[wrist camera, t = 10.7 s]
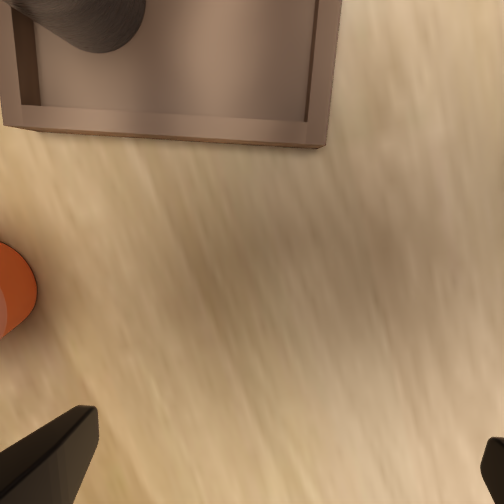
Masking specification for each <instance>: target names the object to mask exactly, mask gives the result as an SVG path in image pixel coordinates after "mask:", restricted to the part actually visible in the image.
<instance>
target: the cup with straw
mask: <svg viewBox="0 0 504 504" xmlns="http://www.w3.org/2000/svg"><path fill="white" fill-rule="evenodd" d="M36 296H37V287H36V282H35V278H34V275H33V273H32V271H31V269H30V267H29V266H28V264H27V263H26V261H25V260H24V259H23V258H22V257H21V256H20V255H19V254H18V253H17V252H16V251H15V250H13V249H12V248H10V247H9V246H7V245H5V244H3V243H1V242H0V340H1V338H2V337H4V336H5V335H6V334H7V333H9V332H10V331H11V330H12V329H14V328H15V327H16V326H17V325H18V324H20V323H21V322H22V321H23V320H24V319H25V318H26V317H27V316H28V315H29V314H30V312H31V311H32V309H33V307H34V305H35V302H36Z"/></svg>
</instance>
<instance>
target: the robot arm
mask: <svg viewBox="0 0 504 504" xmlns="http://www.w3.org/2000/svg"><path fill="white" fill-rule="evenodd" d="M98 441H99V424H98V411H97V408H96V407H95V406H87V405H78V406H75V407H74V408H72V409H70V410H69V411H67V412H65V413H64V414H62V415H61V416H59V417H57V418H56V419H54V420H52V421H51V422H49V423H47V424H46V425H44V426H43V427H41V428H39V429H38V430H36V431H34V432H33V433H31V434H29V435H28V436H26V437H25V438H23V439H21V440H20V441H18V442H16V443H15V444H13V445H11V446H10V447H8V448H7V449H5V450H3V451H2V452H0V504H73V502H74V500H75V497H76V495H77V493H78V490H79V488H80V485H81V483H82V481H83V478H84V476H85V474H86V471H87V469H88V467H89V464H90V462H91V459H92V457H93V455H94V452H95V450H96V448H97V445H98ZM480 469H481V474H482V477H483V480H484V482H485V484H486V486H487V488H488V490H489V492H490V494H491V496H492V498H493V501H494V503H495V504H504V438H502V437H491V438H490V439H489V440H488V442H487V445H486V448H485V451H484V455H483V458H482V461H481V465H480Z"/></svg>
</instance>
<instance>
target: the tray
mask: <svg viewBox="0 0 504 504" xmlns="http://www.w3.org/2000/svg"><path fill="white" fill-rule="evenodd" d="M341 4H342V0H145V10H144V14H143V18H142V21H141V24H140V26H139V28H138V30H137V31H136V33H135V34H134V36H133V37H132V38H131V39H130V40H129V41H128V42H127V43H126V44H125V45H124V46H122V47H120V48H119V49H116V50H114V51H111V52H107V53H90V52H86V51H83V50H80V49H78V48H76V47H74V46H73V45H71V44H69V43H68V42H66V41H65V40H63V39H62V38H60V37H58V36H57V35H55V34H54V33H52V32H51V31H49V30H47V29H46V28H44V27H43V26H41V25H40V24H38V23H36V22H35V21H33V20H32V19H30V18H29V17H27V16H25V15H24V14H22V13H21V12H19V11H18V10H16V9H14V8H13V7H11V6H10V5H8V4H7V3H5V2H3V1H2V0H0V100H1V108H2V117H3V125H5V126H10V127H16V128H21V129H27V130H32V131H37V132H53V133H70V134H86V135H102V136H118V137H134V138H150V139H166V140H183V141H199V142H215V143H231V144H247V145H263V146H280V147H296V148H312V149H318V148H320V147H323V146H325V145H326V138H327V129H328V120H329V111H330V102H331V93H332V84H333V75H334V66H335V57H336V48H337V39H338V31H339V22H340V13H341Z"/></svg>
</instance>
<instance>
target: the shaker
mask: <svg viewBox="0 0 504 504" xmlns="http://www.w3.org/2000/svg"><path fill="white" fill-rule="evenodd" d="M2 1H3V2H5V3H7V4H8V5H10V6H11V7H13V8H14V9H16V10H18V11H19V12H21V13H22V14H24V15H25V16H27V17H29V18H30V19H32V20H33V21H35V22H36V23H38V24H40V25H41V26H43V27H44V28H46V29H47V30H49V31H51V32H52V33H54V34H55V35H57V36H58V37H60V38H62V39H63V40H65V41H66V42H68V43H69V44H71V45H73V46H74V47H76V48H78V49H80V50H83V51H86V52H90V53H107V52H111V51H114V50H116V49H119V48H120V47H122V46H124V45H125V44H126V43H127V42H128V41H129V40H130V39H131V38H132V37H133V36H134V34H135V33H136V31H137V30H138V28H139V26H140V24H141V21H142V18H143V14H144V10H145V0H2Z"/></svg>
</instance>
